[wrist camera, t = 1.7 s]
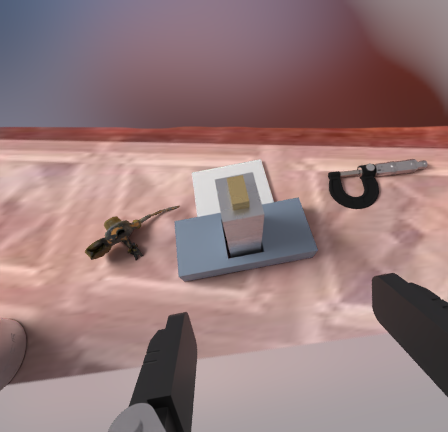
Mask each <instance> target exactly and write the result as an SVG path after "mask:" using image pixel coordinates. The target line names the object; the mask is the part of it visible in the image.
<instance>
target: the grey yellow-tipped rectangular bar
mask: <svg viewBox="0 0 448 432" xmlns="http://www.w3.org/2000/svg"><path fill="white" fill-rule="evenodd" d="M215 184H216V190H217V195H218V201H219V206H220V212H221V217H222V223H223V227H224V231H225V235H226V239H227V243H228V247H229V251H230V255H231V258H235V257H240V256H245V255H250V254H256V253H260V252H261V242H262V233H263V223H264V211H263V207H262V203H261V200H260V196H259V193H258V189H257V185H256V182H255V178H254V174H253V172H250V173H245V174H240V175H235V176H230V177H225V178H220V179H215Z"/></svg>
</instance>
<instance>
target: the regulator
mask: <svg viewBox="0 0 448 432" xmlns="http://www.w3.org/2000/svg"><path fill="white" fill-rule="evenodd" d="M178 207H179V206H175V207H170V208H167V209H164V210H159V211H158V212H156V213H153V214H149V215H147V216H145V217H143V218H142V219H140V220H134V221H133V223H132V224H131V223H129V221H127V220H125V221H121V220H120V219H119V218H118V217H117V216H116V217H112V218H110V219H108V220H107V221H106V222H105V223H104V227H105V228H106V230H107V232H106V233H105V238H102V239H99V240H97V241H96V242H94V243H92V244H91V245H90V246H89V247H88V248H87V249H86V250H85V253H86V254H87V255H88V256H89V257H90V259H91V260H92V259H97V258H99V257H102V256H104V255H105V254H106V253H107V252H109V251H110V249H111V247H112V246H113V245H115V244H116V243H119V242H121V241H122V242H123V243H125V244H126V245H127V247H129V250H128V253H130V254H133V255H134V257H135V260H137V258H138V257H137V255H140V256H141V257H142V256H143V255H142V253H141V252H140V251H139V249H138V248H137V247H138V245H137V244H136V245H135V243H133V244H132V243H131V242H130V240H129V239H128V236H129V235H130V234H131V233H132V231H133V230H134V229H138V228H140V227H141V223H142V222H144V221H145V220H147V219H148V218H150V217H151V216H153V215H157V214H159V213H161V212H164V211H166V210H167V211H168V210H171V209H176V208H178ZM134 247H135V248H134ZM132 248H133V249H132ZM131 249H132V252H131Z"/></svg>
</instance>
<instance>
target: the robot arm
mask: <svg viewBox="0 0 448 432" xmlns="http://www.w3.org/2000/svg"><path fill="white" fill-rule="evenodd" d="M372 307H373V312H374V314H375V316H376V318H377V320H378V321H379V323H380V324H381V325H382V326H383V327H384V328H385V329H386V330H387V331H388V332H389V334H390V335H391V336H392V337H393V338H394V339H395V340H396V341H397V342H398V343H399V344H400V345H401V347H403V349H404V350H405V351H406V352H407V353H408V354H409V355H410V356H411V357H412V359H413V360H414V361H415V362H416V363H417V364H418V365H419V366H420V367H421V368H422V369H423V370H424V372H425V373H426V374H427V375H428V376H429V377H430V378H431V379H432V380H433V381H434V383H435V384H436V385H437V386H438V387H439V388H440V389H441V390H442V391H443V392H444V393H445V395H446V396H447V397H448V303H447V302H446V301H444V300H441V299H440V297H438V296H437V295H435V294H434V293H433V292H431V291H430V290H428V289H426V288H424V287H421V286H419V285H416V284H414V283H408V282H406V281H405V280H404V279H402V278H401V277H399V276H398V275H397V274H395V273H389V274H384V275H379V276H374V277H373V279H372ZM25 351H26V334H25V331H24V329H23V327H22V326H21V324H19V323H18V322H17V321H15V320H12V319H6V318H0V390H2V389H3V387H5V386H6V385H7V384H8V383H9V382H10V381H11V379H12V378H13V377H14V375H15V374H16V372H17V371H18V369H19V367H20V365H21V363H22V361H23V358H24V355H25ZM146 353H147V354H146V355H145V358H144V361H143V365H142V368H141V371H140V374H139V377H138V380H137V383H136V386H135V389H134V393H133V395H132V398H131V401H130V405H129V407H128V408H127V409H126V410H124V411H123V412H122V413H121V414H120V415H119V416H118V417H117V418H116V419H115V420H114V422H113V423H112V425H111V427H110V429H109V431H108V432H191V426H192V414H193V401H194V388H195V376H196V364H197V344H196V339H195V336H194V332H193V329H192V326H191V322H190V319H189V315H188V313H187V312H184V313H179V314H173V315H169V317H168V321H167V324H166V328H165V329H162V330H158V331H157V333H156V334H155V335H154V337H153V338H152V339H151V341H150V343H149V346H148V349H147V352H146Z"/></svg>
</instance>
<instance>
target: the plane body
mask: <svg viewBox="0 0 448 432" xmlns="http://www.w3.org/2000/svg"><path fill="white" fill-rule="evenodd" d="M262 207H263V211H264V223H263V233H262V242H261V251H262V252H261V253H256V254H250V255H245V256H240V257H235V258H228V252H227V246H226V241H225V235H224V230H223V228H224V227H223V223H222V217H221V213H216V214H211V215H205V216H200V217H195V218H190V219H185V220H180V221H175V233H176V247H177V260H178V273H179V277H180V278H181V279H182V280H183V281H184V282H185V281H191V280H196V279H201V278H206V277H212V276H217V275H222V274H227V273H233V272H238V271H243V270H248V269H254V268H259V267H264V266H269V265H275V264H280V263H285V262H291V261H296V260H301V259H306V258H312V257H313V256H314V255H315V253H316V252H317V251H318V249H317V246H316V244H315V241H314V238H313V236H312V233H311V230H310V227H309V225H308V222H307V219H306V216H305V214H304V211H303V208H302V206H301V203H300V200H299V197H298V198H293V199H288V200H283V201H278V202H273V203H267V204H262Z"/></svg>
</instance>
